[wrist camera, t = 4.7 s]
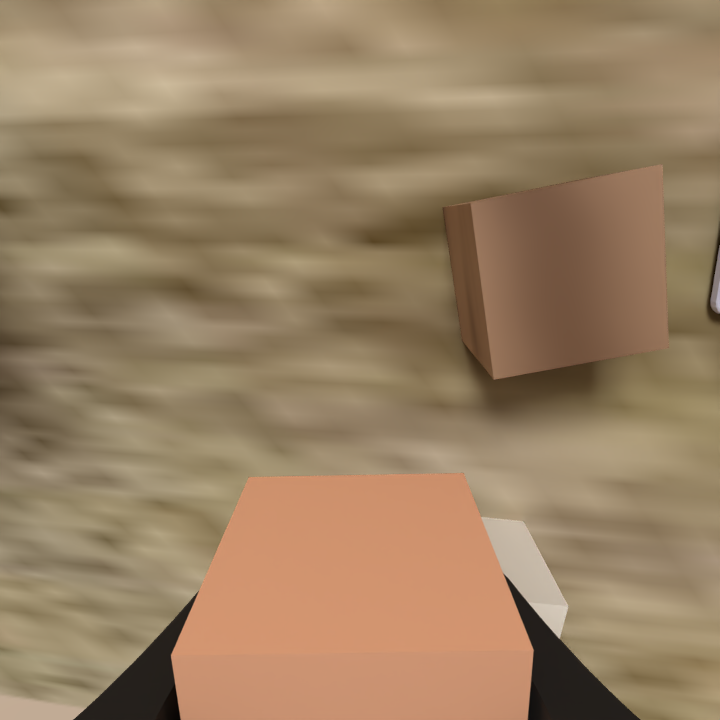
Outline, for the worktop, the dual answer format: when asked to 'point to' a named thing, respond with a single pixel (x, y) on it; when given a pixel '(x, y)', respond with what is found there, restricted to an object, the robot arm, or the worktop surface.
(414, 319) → the worktop surface
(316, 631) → the terracotta cube
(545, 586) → the beige cube
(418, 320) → the worktop surface
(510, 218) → the walnut cube
